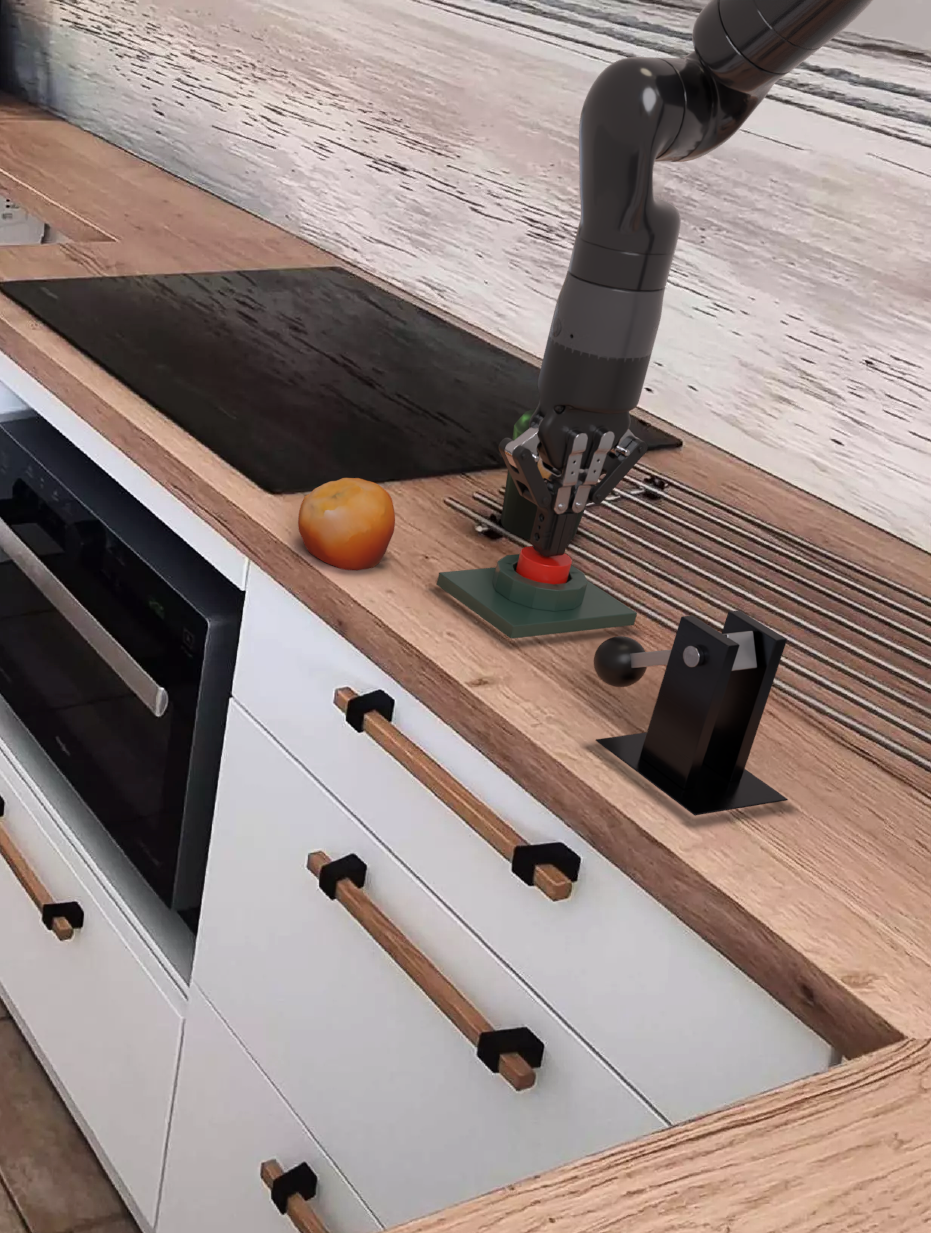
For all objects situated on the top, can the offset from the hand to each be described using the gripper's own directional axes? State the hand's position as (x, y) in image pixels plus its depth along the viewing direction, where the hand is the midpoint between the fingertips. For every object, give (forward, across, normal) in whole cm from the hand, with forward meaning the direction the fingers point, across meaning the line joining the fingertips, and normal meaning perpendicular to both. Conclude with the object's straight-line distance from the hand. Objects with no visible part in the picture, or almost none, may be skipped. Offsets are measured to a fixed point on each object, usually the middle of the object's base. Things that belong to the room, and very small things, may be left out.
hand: (547, 552), depth 140 cm
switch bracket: (+6, -6, -25) cm, 26 cm away
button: (+2, 0, 0) cm, 2 cm away
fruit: (+6, -10, +13) cm, 17 cm away
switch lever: (0, -6, -21) cm, 22 cm away
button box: (+6, 0, 0) cm, 6 cm away
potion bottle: (+6, +12, +15) cm, 20 cm away
